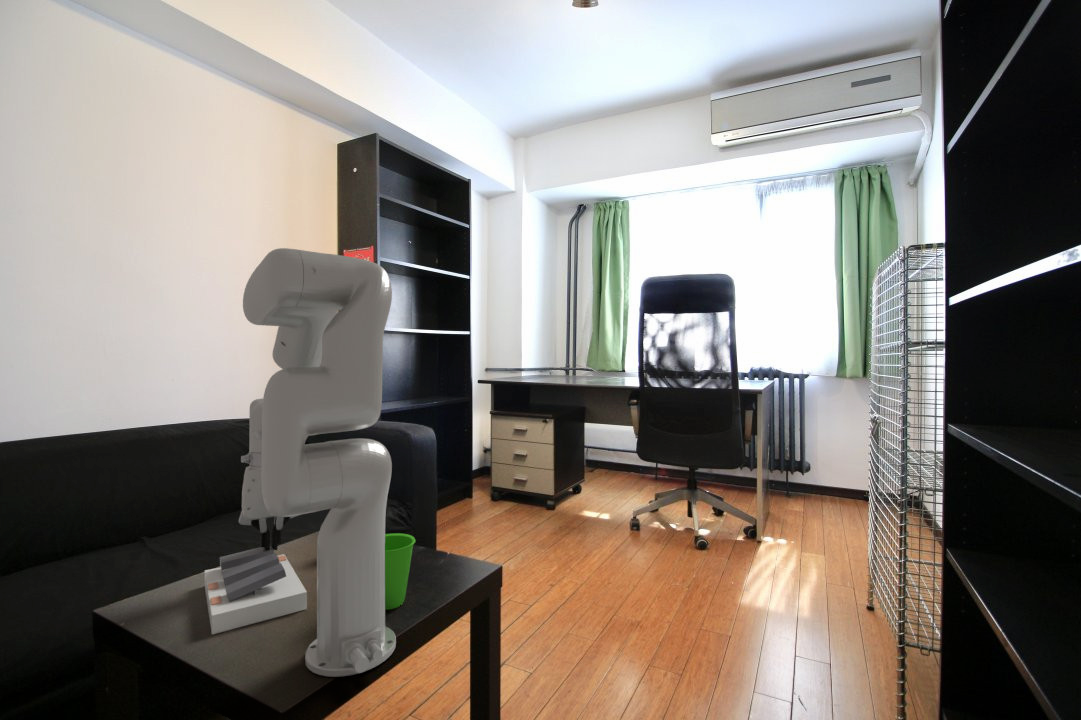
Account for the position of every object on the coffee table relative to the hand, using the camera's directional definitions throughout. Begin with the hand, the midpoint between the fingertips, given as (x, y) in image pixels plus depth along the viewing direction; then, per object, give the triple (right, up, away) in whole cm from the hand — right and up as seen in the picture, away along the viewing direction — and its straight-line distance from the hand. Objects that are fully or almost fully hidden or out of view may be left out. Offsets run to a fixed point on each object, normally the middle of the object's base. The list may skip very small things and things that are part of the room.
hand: (270, 548), depth 103 cm
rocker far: (-3, -1, -3) cm, 4 cm away
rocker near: (+5, -1, -14) cm, 15 cm away
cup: (+28, -5, -12) cm, 31 cm away
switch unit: (+2, -5, -10) cm, 11 cm away
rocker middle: (+1, -1, -8) cm, 8 cm away
